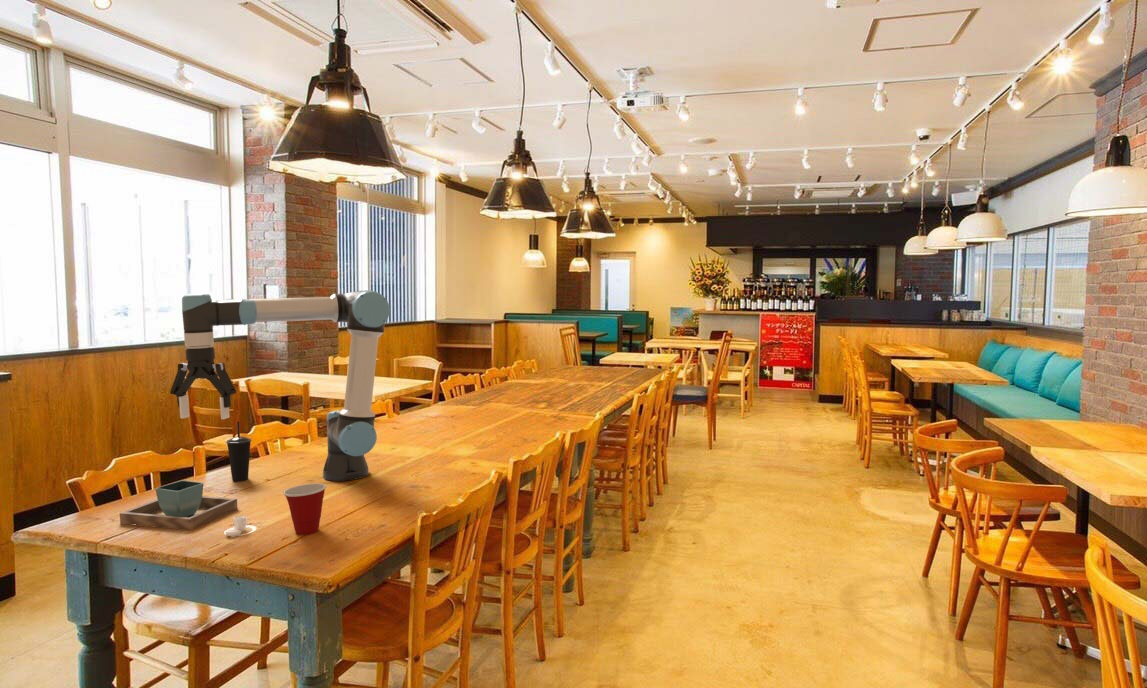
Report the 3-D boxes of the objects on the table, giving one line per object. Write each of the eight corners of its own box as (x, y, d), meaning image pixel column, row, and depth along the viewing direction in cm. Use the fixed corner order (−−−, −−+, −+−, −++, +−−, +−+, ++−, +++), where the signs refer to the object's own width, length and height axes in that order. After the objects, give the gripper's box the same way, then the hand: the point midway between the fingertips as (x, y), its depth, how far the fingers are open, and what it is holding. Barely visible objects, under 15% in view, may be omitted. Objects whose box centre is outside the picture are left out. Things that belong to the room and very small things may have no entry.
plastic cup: (296, 523, 187) (295, 481, 186) (334, 524, 186) (333, 482, 185) (276, 537, 176) (274, 492, 175) (315, 539, 175) (314, 494, 174)
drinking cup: (242, 483, 225) (240, 424, 224) (222, 482, 227) (220, 423, 225) (257, 477, 233) (255, 420, 231) (238, 476, 234) (236, 419, 233)
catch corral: (237, 508, 199) (237, 498, 199) (189, 530, 182) (189, 519, 181) (172, 503, 204) (172, 493, 204) (120, 523, 186) (119, 513, 186)
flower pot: (155, 519, 190) (154, 487, 190) (183, 509, 199) (182, 479, 198) (178, 522, 187) (177, 491, 187) (205, 513, 195) (204, 482, 195)
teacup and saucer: (232, 540, 175) (231, 525, 175) (214, 534, 179) (214, 519, 179) (263, 530, 182) (262, 516, 182) (245, 525, 187) (245, 510, 186)
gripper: (246, 345, 199) (250, 416, 201) (172, 345, 204) (177, 414, 206) (228, 348, 192) (233, 421, 194) (152, 348, 197) (158, 419, 199)
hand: (205, 418), depth 200 cm, fingers open, 13 cm apart
